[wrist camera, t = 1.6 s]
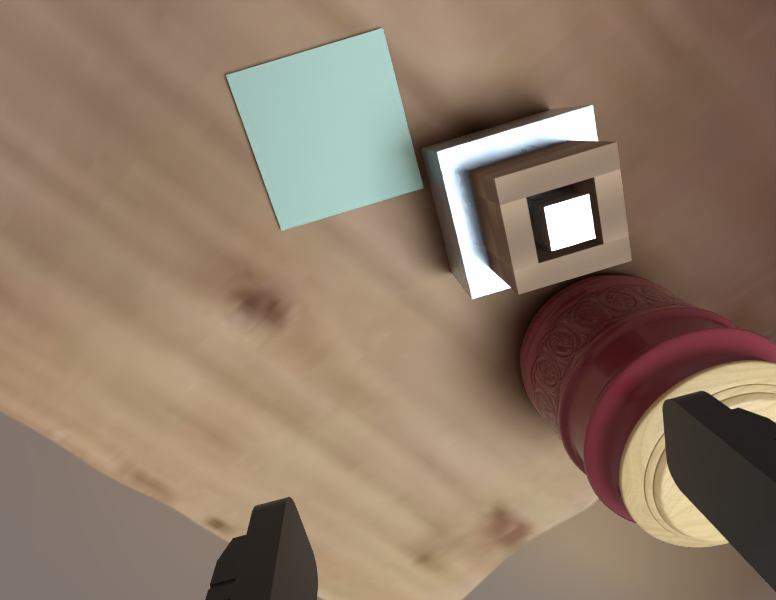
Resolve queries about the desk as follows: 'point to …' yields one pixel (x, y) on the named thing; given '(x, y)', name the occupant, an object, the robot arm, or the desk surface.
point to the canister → (638, 389)
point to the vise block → (546, 210)
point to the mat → (328, 129)
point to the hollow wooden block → (540, 174)
